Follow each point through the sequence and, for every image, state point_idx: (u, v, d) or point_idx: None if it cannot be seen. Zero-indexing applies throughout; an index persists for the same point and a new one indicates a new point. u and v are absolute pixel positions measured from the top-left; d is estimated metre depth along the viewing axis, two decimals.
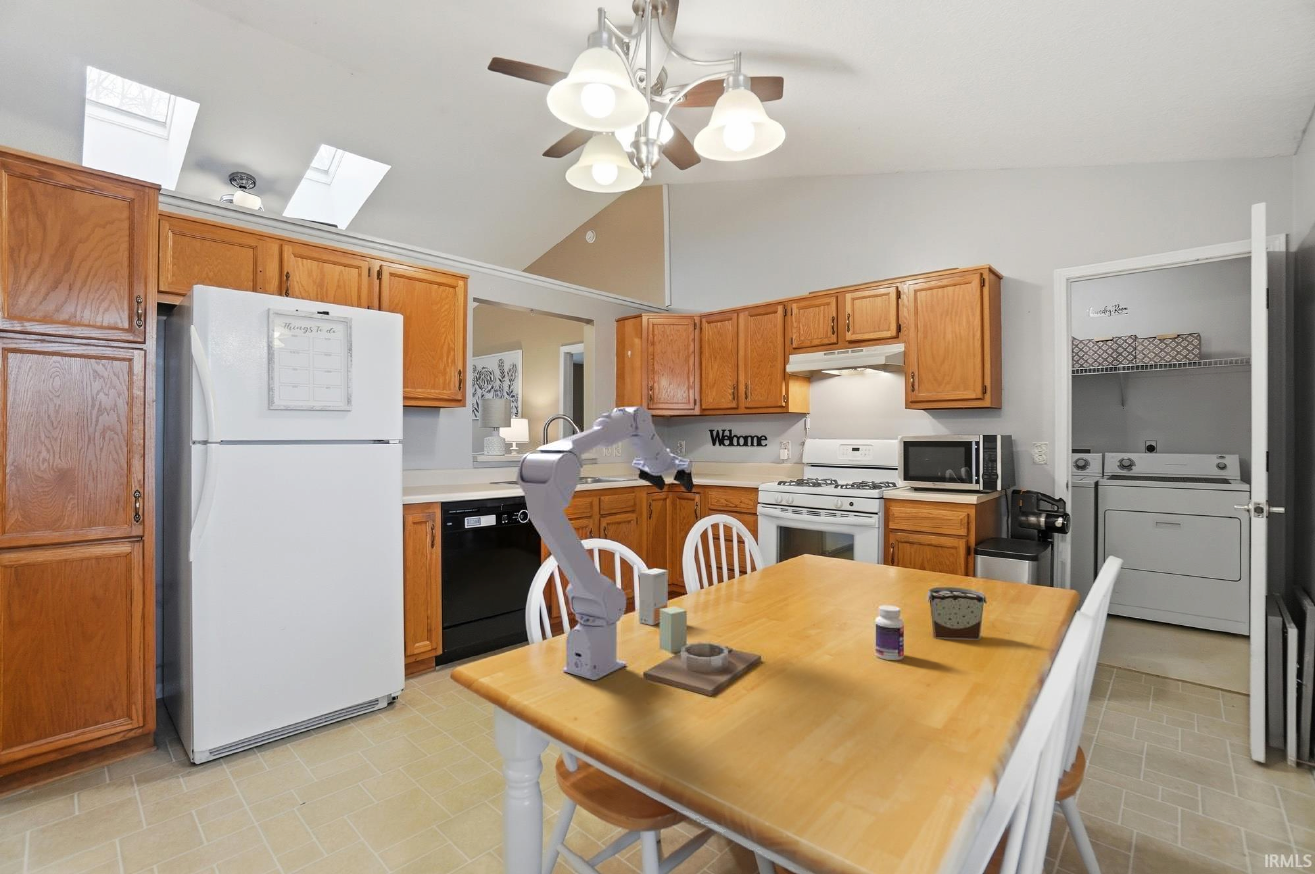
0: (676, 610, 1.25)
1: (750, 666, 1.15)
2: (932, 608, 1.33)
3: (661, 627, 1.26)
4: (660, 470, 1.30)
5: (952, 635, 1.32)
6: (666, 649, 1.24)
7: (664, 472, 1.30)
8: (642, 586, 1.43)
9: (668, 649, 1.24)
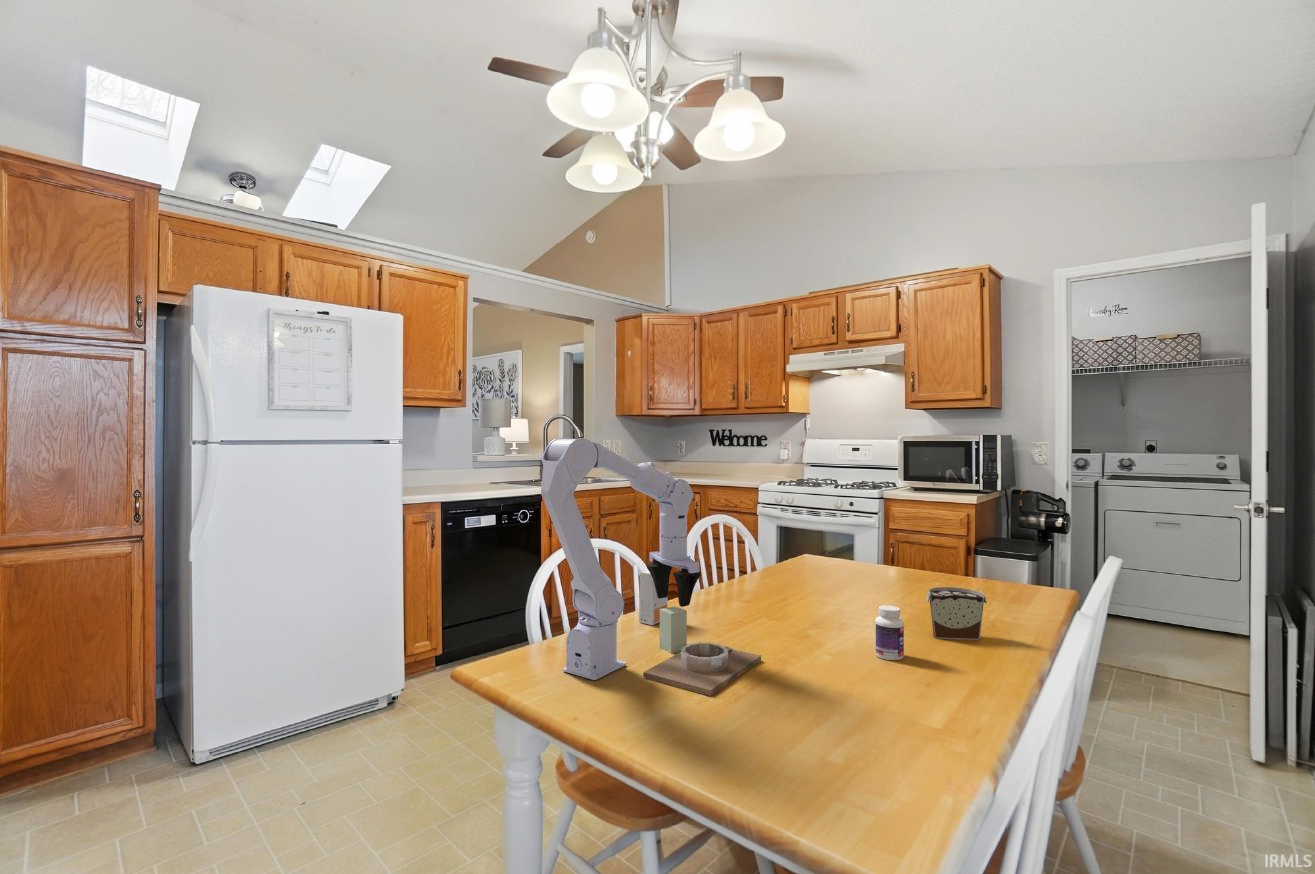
0: (676, 610, 1.25)
1: (750, 666, 1.15)
2: (932, 608, 1.33)
3: (661, 627, 1.26)
4: (668, 558, 1.23)
5: (952, 635, 1.32)
6: (666, 649, 1.24)
7: (670, 561, 1.23)
8: (642, 586, 1.43)
9: (668, 649, 1.24)
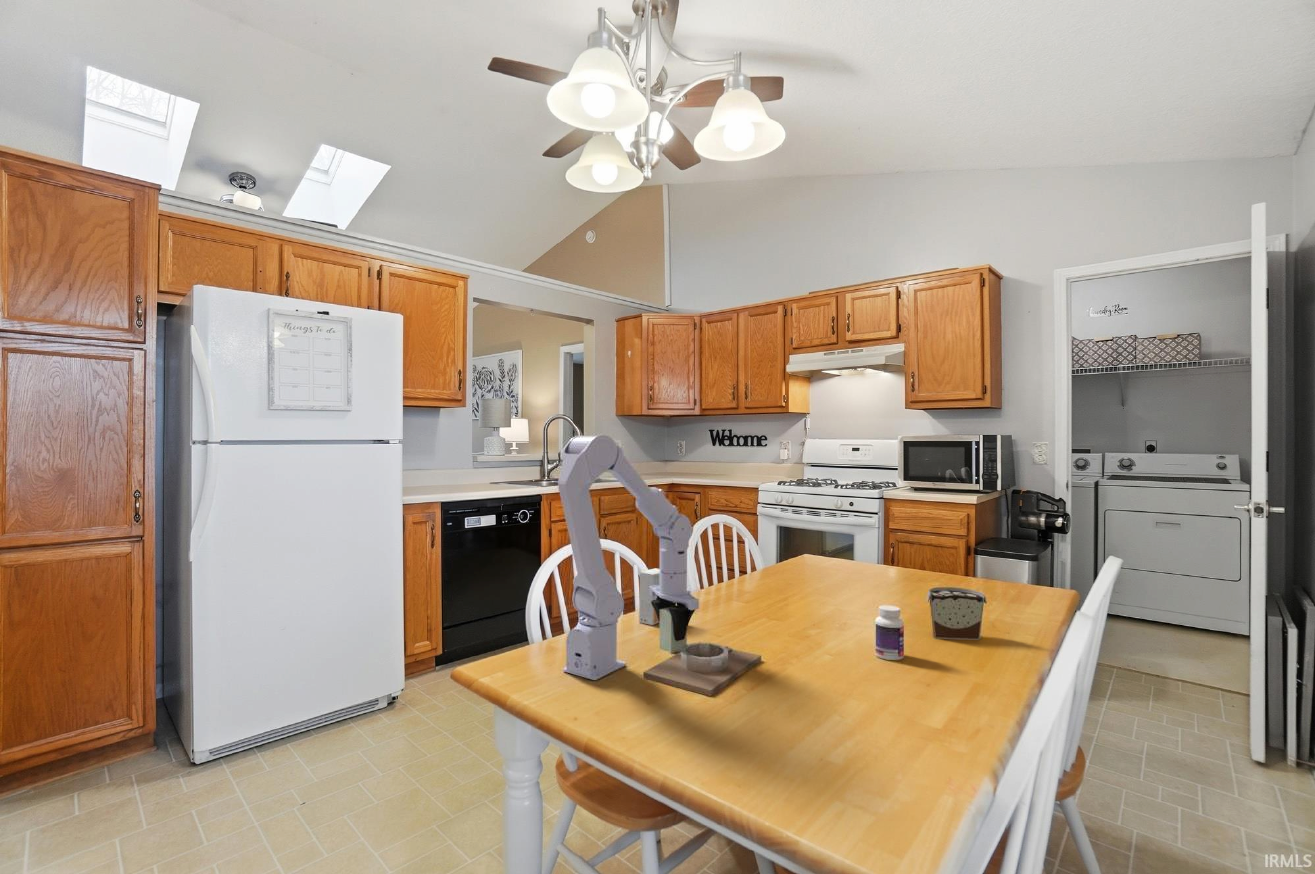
0: None
1: (750, 666, 1.15)
2: (932, 608, 1.33)
3: (661, 627, 1.26)
4: (667, 594, 1.23)
5: (952, 635, 1.32)
6: (666, 649, 1.24)
7: (669, 597, 1.23)
8: (642, 586, 1.43)
9: (668, 649, 1.24)
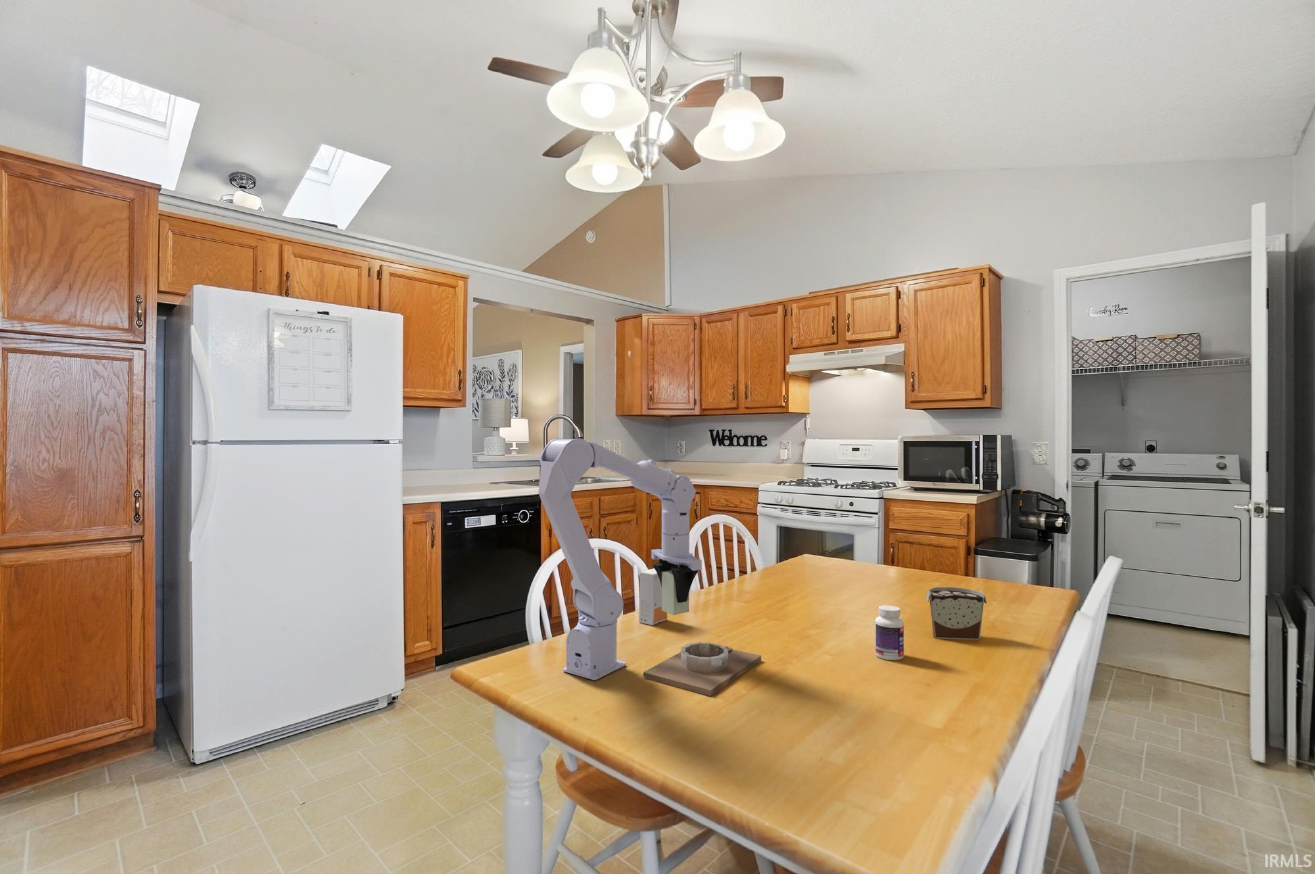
0: None
1: (750, 666, 1.15)
2: (932, 608, 1.33)
3: (663, 589, 1.25)
4: (670, 555, 1.22)
5: (952, 635, 1.32)
6: (668, 611, 1.23)
7: (672, 559, 1.22)
8: (641, 586, 1.43)
9: (670, 611, 1.23)
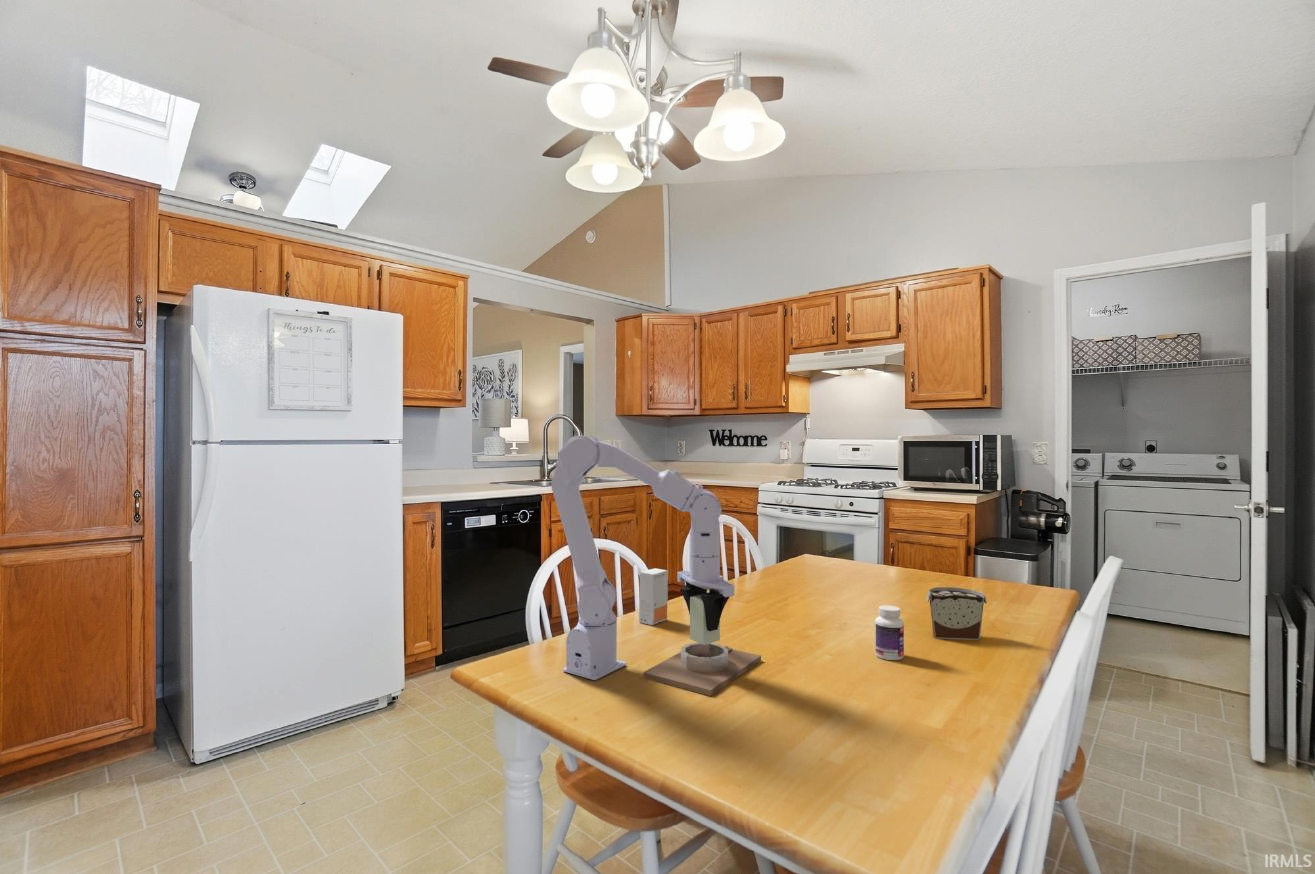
0: None
1: (750, 666, 1.15)
2: (932, 608, 1.33)
3: (692, 616, 1.15)
4: (699, 579, 1.12)
5: (952, 635, 1.32)
6: (698, 640, 1.13)
7: (701, 583, 1.12)
8: (642, 586, 1.43)
9: (700, 640, 1.13)
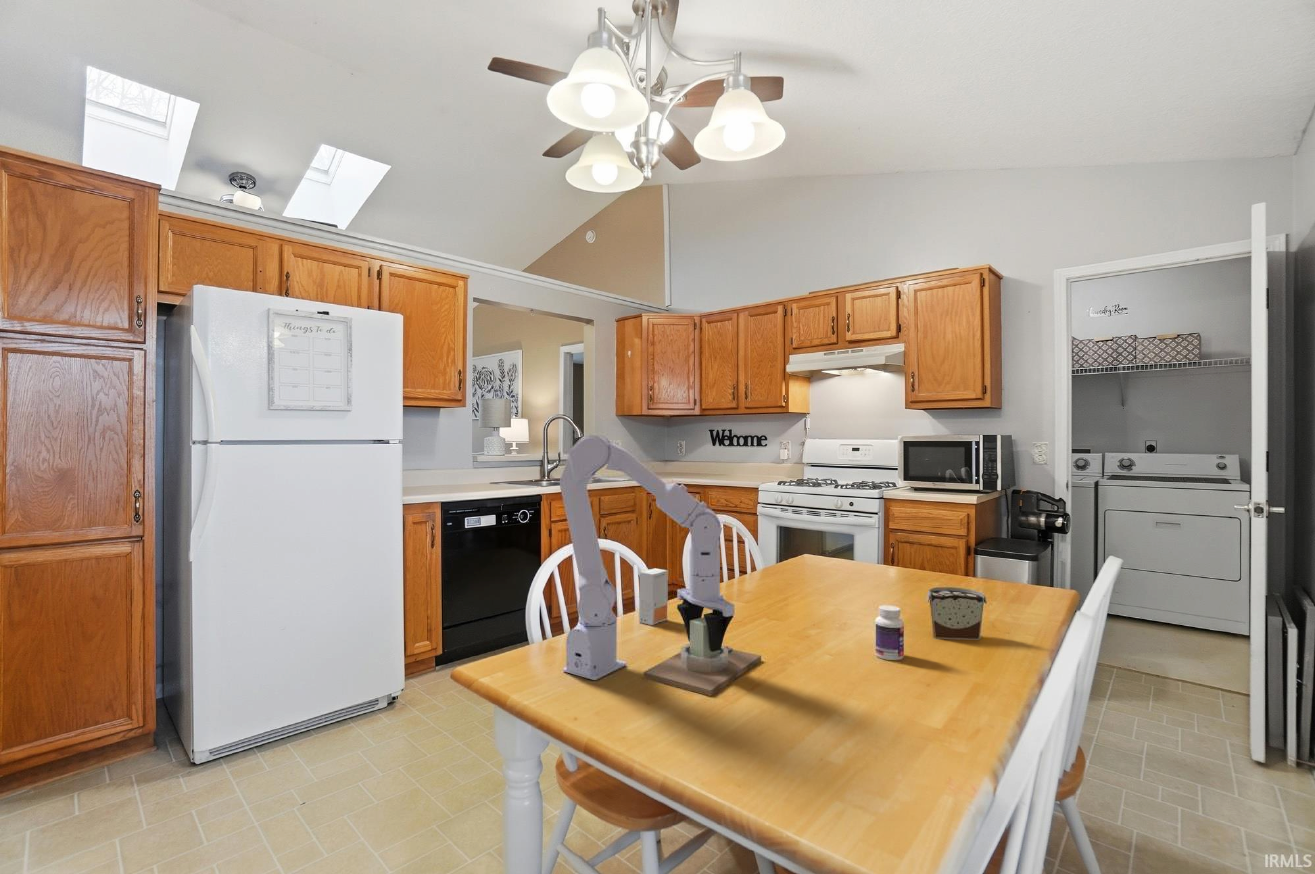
0: None
1: (750, 666, 1.15)
2: (932, 608, 1.33)
3: (691, 640, 1.15)
4: (699, 598, 1.12)
5: (952, 635, 1.32)
6: None
7: (701, 603, 1.12)
8: (642, 586, 1.43)
9: None
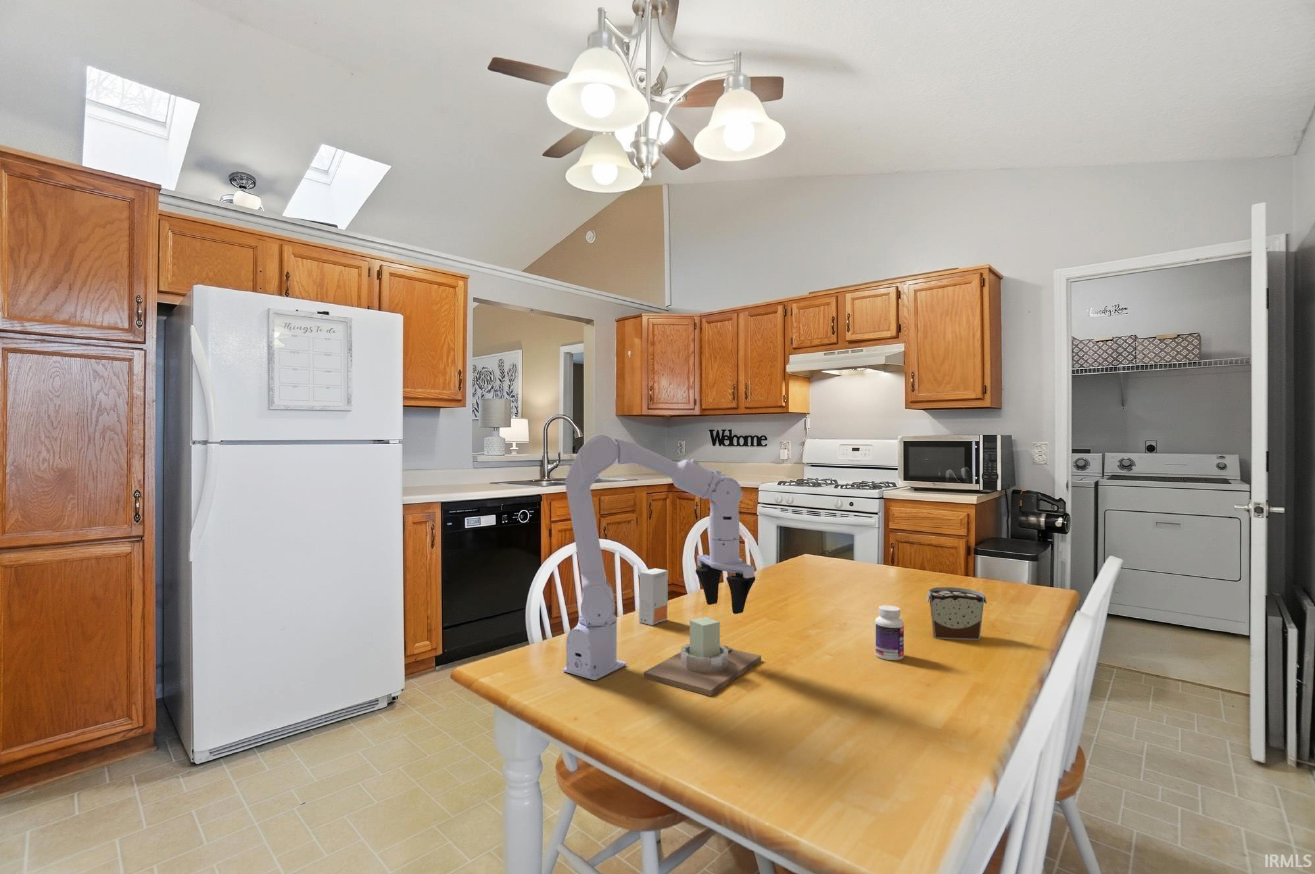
0: (708, 621, 1.14)
1: (750, 666, 1.15)
2: (932, 608, 1.33)
3: (691, 640, 1.15)
4: (719, 562, 1.15)
5: (952, 635, 1.32)
6: None
7: (722, 566, 1.15)
8: (642, 586, 1.43)
9: None
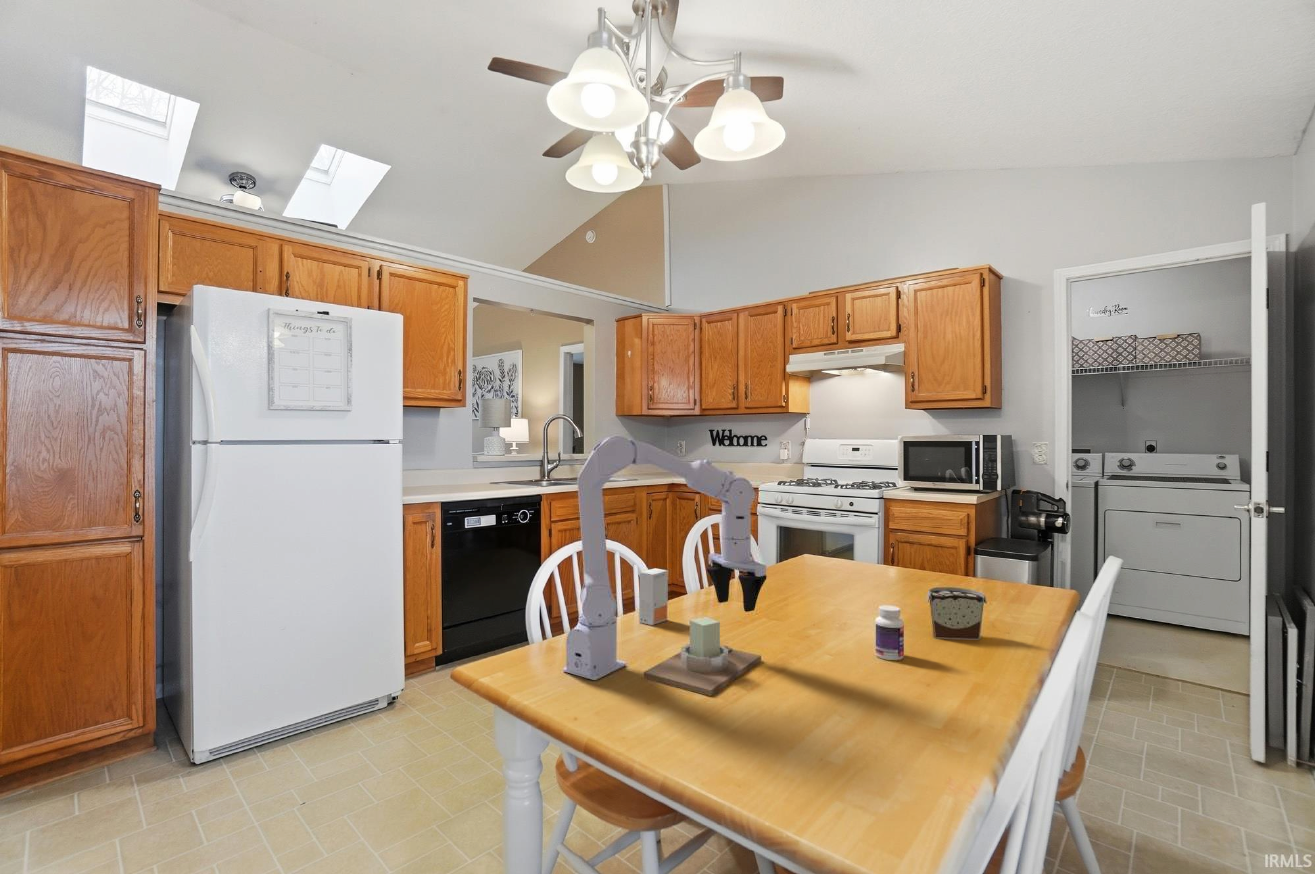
0: (708, 621, 1.14)
1: (750, 666, 1.15)
2: (932, 608, 1.33)
3: (691, 640, 1.15)
4: (731, 560, 1.17)
5: (952, 635, 1.32)
6: None
7: (734, 564, 1.17)
8: (642, 586, 1.43)
9: None
